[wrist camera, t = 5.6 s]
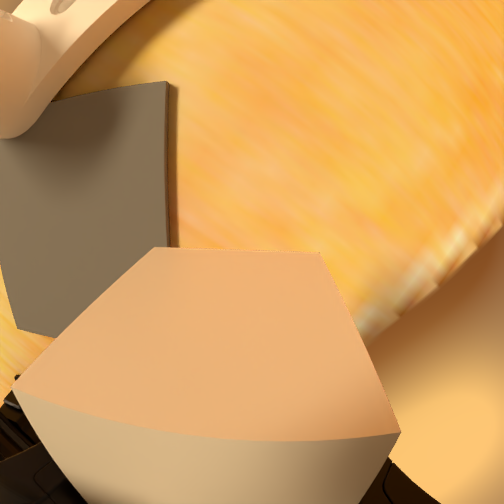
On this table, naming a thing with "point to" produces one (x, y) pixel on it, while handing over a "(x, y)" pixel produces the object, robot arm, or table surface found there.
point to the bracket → (49, 51)
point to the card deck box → (213, 386)
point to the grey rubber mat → (82, 201)
